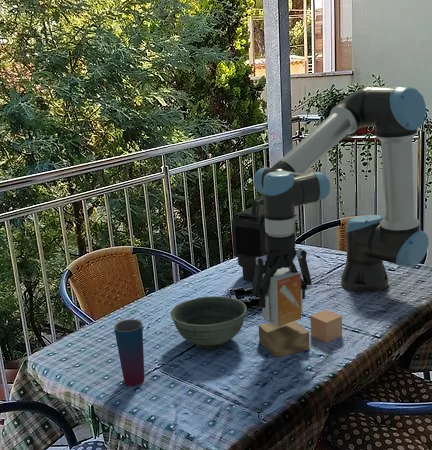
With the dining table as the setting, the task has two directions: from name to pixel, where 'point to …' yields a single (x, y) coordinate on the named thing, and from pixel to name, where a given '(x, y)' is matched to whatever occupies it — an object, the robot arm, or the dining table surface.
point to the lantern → (249, 238)
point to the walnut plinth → (284, 338)
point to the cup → (130, 350)
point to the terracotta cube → (326, 326)
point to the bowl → (209, 320)
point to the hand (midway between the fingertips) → (282, 314)
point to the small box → (284, 297)
